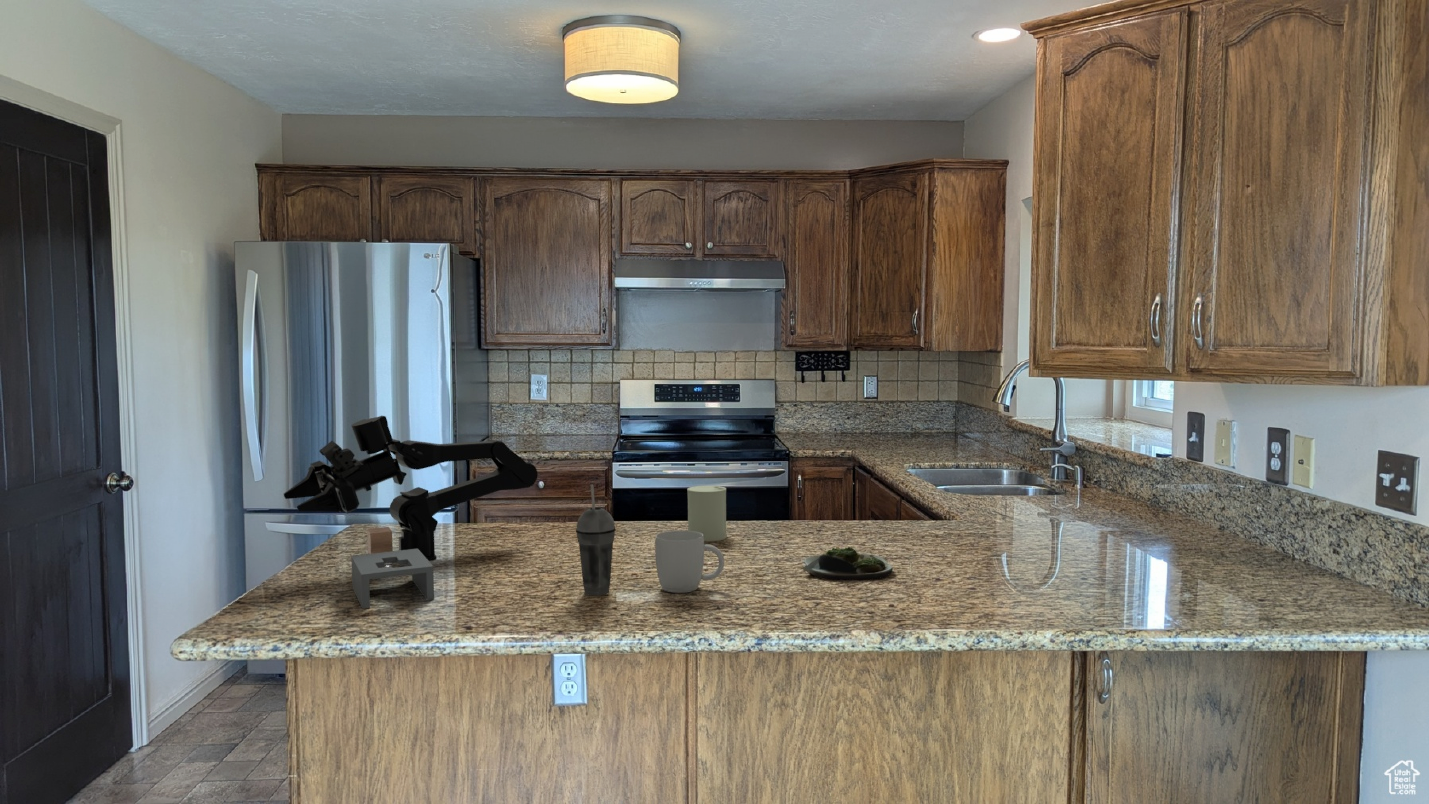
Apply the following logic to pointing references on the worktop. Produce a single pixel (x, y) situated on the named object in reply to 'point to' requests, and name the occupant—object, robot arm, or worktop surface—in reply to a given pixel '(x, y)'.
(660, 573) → the mug
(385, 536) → the brown and silver block
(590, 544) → the beverage cup
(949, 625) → the worktop surface
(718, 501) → the can
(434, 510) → the robot arm
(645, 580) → the worktop surface
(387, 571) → the keyhole plate
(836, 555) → the salad plate
